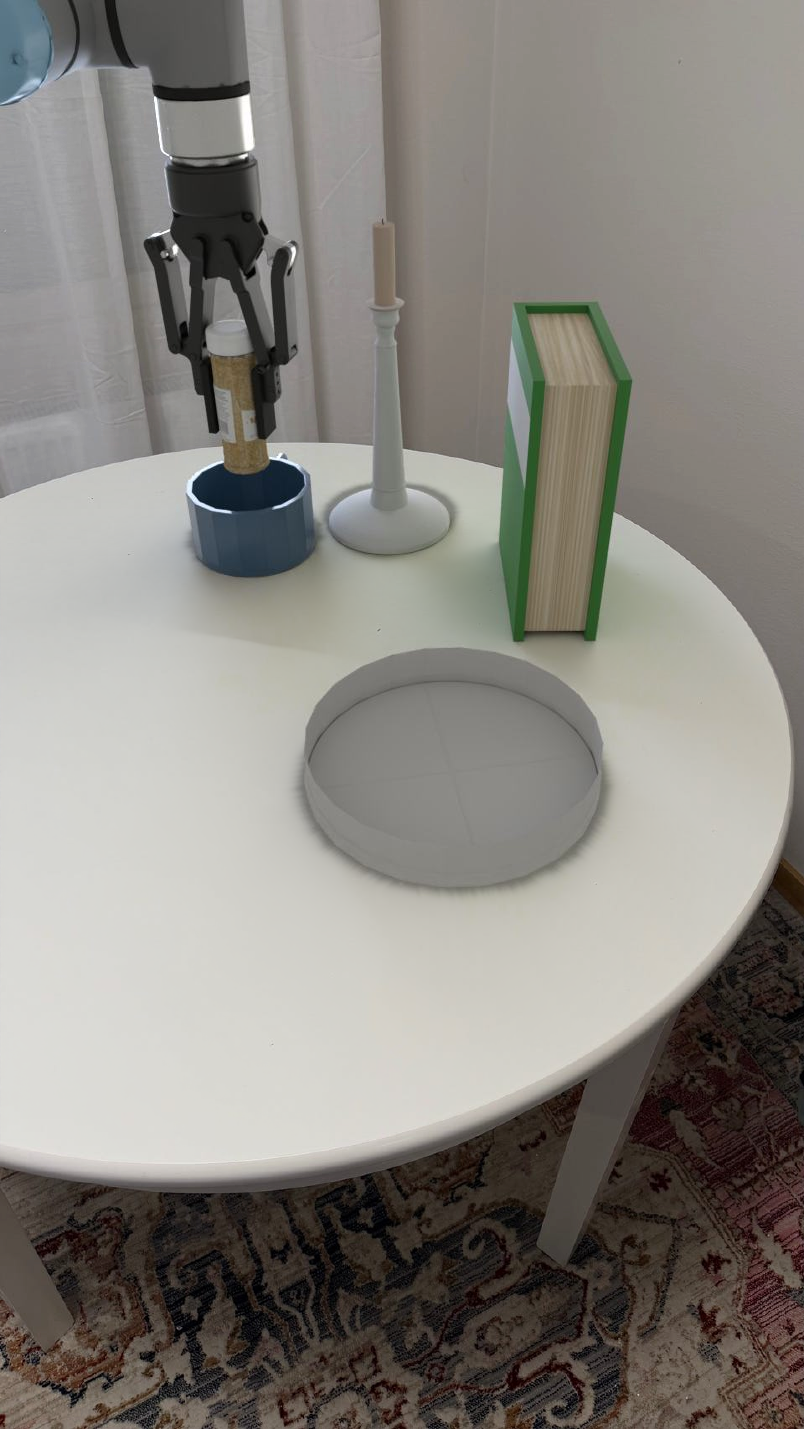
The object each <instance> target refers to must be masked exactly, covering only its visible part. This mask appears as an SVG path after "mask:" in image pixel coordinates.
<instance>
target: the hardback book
mask: <svg viewBox="0 0 804 1429" xmlns="http://www.w3.org/2000/svg"><path fill="white" fill-rule="evenodd" d="M509 350H510V351H509V352H510V353H509V366H508V367H509V368H508V370H509V371H508V382H507V384H508V385H507V399H506V400H507V401H506V404H507V405H506V417H505V418H506V419H505V433H504V436H505V437H504V449H503V467H502V481H501V482H502V483H501V485H502V486H501V497H500V498H501V500H500V516H499V532H498V545H499V551H500V558H501V565H502V572H503V578H504V585H505V593H506V600H507V607H508V615H509V622H510V628H511V633H512V634H511V635H512V641H513V642H524V641H525V632H568V631H570V632H573V631H575V632H576V631H577V632H578V631H579V632H580V631H581V632H582V633H583V637H584V641H585V642H595V641H596V640H597V634H598V626H599V619H600V612H601V607H602V606H601V604H602V598H603V590H604V585H605V584H604V583H605V576H606V569H607V562H608V556H609V550H610V549H609V547H610V542H611V536H612V535H611V534H612V528H613V521H614V514H615V506H616V498H617V493H618V485H619V478H620V471H621V463H622V456H623V449H624V442H625V436H626V428H627V421H628V415H629V413H628V412H629V408H630V400H631V393H632V386H633V378H632V376H631V373H630V371H629V370H628V367H627V364H626V363H625V360H624V358H623V355H622V354H621V350H620V349H619V347H618V344H617V341H616V340H615V338H614V335H613V334H612V331H611V328H610V327H609V324H608V322H607V320H606V318H605V315H604V313H603V310H602V308H601V307H600V304H599V302H598V301H541V302H540V301H537V302H535V301H533V302H532V301H530V302H529V301H527V302H525V301H524V302H521V301H520V302H512V317H511V334H510V348H509Z"/></svg>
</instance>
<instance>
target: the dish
mask: <svg viewBox="0 0 804 1429" xmlns="http://www.w3.org/2000/svg"><path fill="white" fill-rule="evenodd" d="M598 723H599V722H598V719H597V718H596V716H595V714H594V713H593V712H592V710H591V709H590V707H589V706H588V705H587V703H586V702H585V701H584V699H583V697H582V696H581V695H580V694H579V693H577V692H576V691H575V690H574V689H573V688H571V687H570V686H569V685H568V684H566V683H565V682H564V681H563V680H562V679H560V678H559V677H558V676H557V675H555V674H553V673H551V672H548V671H547V670H545V669H543V668H541V667H539V666H537V665H535V664H533V663H531V662H530V661H527V660H525V659H522V658H521V659H520V658H517V657H514V656H511V655H506V654H503V653H500V652H497V651H492V650H483V649H477V648H469V647H458V646H457V647H425V648H419V649H415V650H410V651H405V652H399V653H394V654H391V655H388V656H385V657H382V658H380V659H377V660H375V661H372V662H369V663H366V664H364V665H362V666H360V667H358V668H357V669H355V670H354V671H352V672H351V673H349V674H347V675H346V676H344V677H342V678H341V679H340V680H338V681H336V682H335V683H334V684H333V685H332V686H331V687H330V689H328V691H327V692H325V694H324V695H323V696H322V697H321V698H320V699H319V701H317V703H316V704H315V706H314V709H313V711H312V713H311V715H310V717H309V720H308V721H307V724H306V726H305V730H304V731H305V732H304V733H305V734H304V751H303V754H304V755H303V756H304V773H303V785H304V790H305V795H306V798H307V800H308V803H309V806H310V809H311V812H312V815H313V818H314V820H315V822H316V823H317V824H318V825H319V827H320V828H321V829H322V830H323V832H324V833H325V834H326V836H327V837H328V839H329V840H331V842H332V843H333V845H334V846H336V847H337V848H339V849H340V850H341V851H342V852H344V853H346V854H347V855H348V856H349V857H351V858H352V859H354V860H355V861H357V862H358V863H360V864H361V865H362V866H364V867H366V868H369V869H371V870H374V871H376V872H379V873H381V874H384V875H387V876H389V877H392V878H394V879H396V880H398V881H402V882H408V883H414V884H419V885H424V886H425V885H426V886H431V887H438V888H467V887H470V888H471V887H487V886H488V887H489V886H491V885H492V886H493V885H495V884H499V883H503V882H507V881H511V880H515V879H519V878H523V877H526V876H528V875H531V874H532V873H534V872H536V871H538V870H539V869H542V868H543V867H545V866H547V865H549V864H551V863H553V862H555V861H557V860H559V859H560V858H561V857H562V856H563V855H564V854H565V853H567V852H568V851H569V849H571V848H572V847H573V846H574V845H575V844H576V843H577V842H578V841H579V840H581V838H583V836H584V835H585V833H586V831H587V829H588V827H589V825H590V823H591V821H592V819H593V817H594V815H595V813H596V811H597V809H598V808H597V807H598V802H599V800H600V795H601V794H600V793H601V783H602V775H603V771H602V759H603V751H604V741H603V737H602V734H601V731H600V727H599V724H598Z"/></svg>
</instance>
